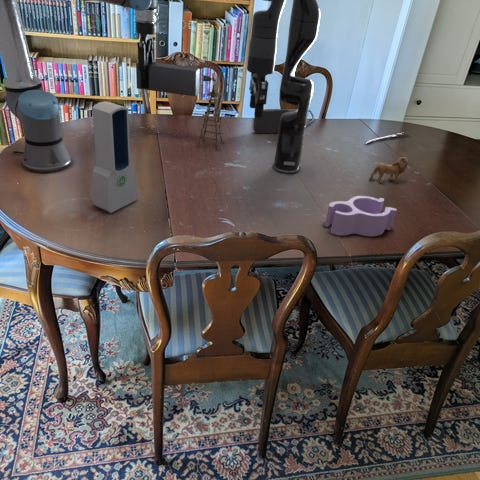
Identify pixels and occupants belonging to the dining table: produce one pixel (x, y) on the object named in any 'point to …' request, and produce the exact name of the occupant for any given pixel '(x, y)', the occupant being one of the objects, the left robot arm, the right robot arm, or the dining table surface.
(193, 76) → the bar
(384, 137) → the sword
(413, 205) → the dining table surface
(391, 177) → the lion figurine
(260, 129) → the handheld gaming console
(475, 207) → the dining table surface
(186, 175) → the dining table surface
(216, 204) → the dining table surface
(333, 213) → the clip
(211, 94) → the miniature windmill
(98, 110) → the electronic device
